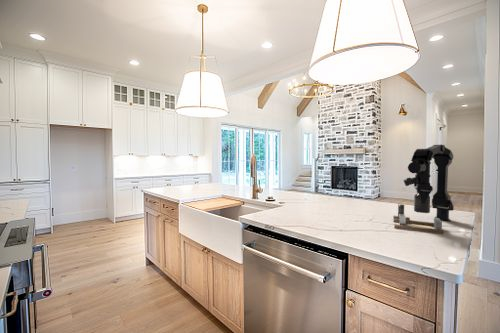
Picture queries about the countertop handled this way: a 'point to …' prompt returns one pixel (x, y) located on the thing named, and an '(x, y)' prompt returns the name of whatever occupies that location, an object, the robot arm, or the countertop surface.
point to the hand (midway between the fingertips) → (422, 202)
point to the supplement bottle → (421, 204)
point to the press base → (421, 225)
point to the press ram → (401, 215)
